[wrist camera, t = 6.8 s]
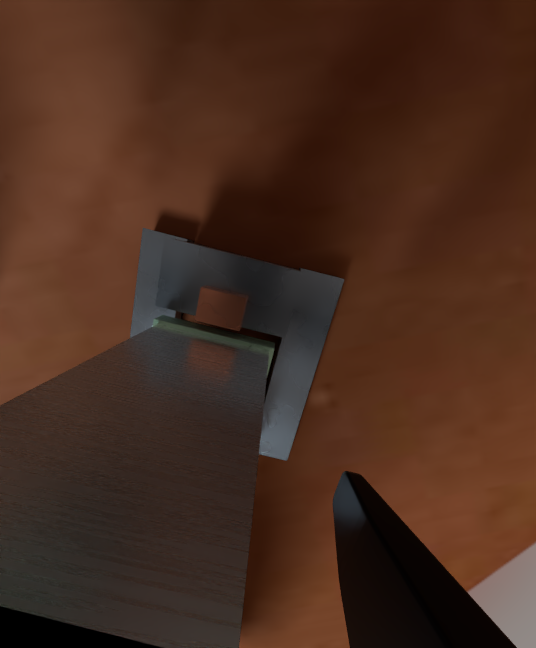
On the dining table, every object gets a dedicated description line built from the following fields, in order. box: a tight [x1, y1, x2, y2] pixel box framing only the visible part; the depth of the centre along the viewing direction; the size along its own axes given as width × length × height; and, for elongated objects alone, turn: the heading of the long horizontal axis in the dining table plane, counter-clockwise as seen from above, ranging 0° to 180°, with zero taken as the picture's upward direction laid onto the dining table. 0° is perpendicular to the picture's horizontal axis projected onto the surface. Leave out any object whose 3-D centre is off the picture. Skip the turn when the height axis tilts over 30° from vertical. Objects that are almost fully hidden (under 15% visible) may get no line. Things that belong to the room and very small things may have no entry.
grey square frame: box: [130, 228, 344, 461], centre depth 12 cm, size 10×9×4 cm
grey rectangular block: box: [0, 315, 275, 648], centre depth 6 cm, size 4×4×9 cm
